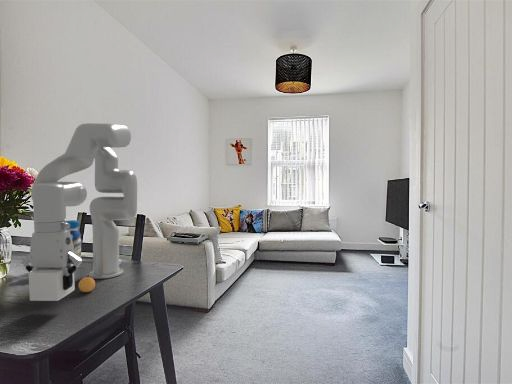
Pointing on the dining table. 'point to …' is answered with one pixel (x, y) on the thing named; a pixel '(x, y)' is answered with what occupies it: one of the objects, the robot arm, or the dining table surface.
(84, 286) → the ball
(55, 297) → the white cube
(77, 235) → the beverage bottle
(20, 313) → the dining table surface
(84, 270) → the dining table surface
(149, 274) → the dining table surface
